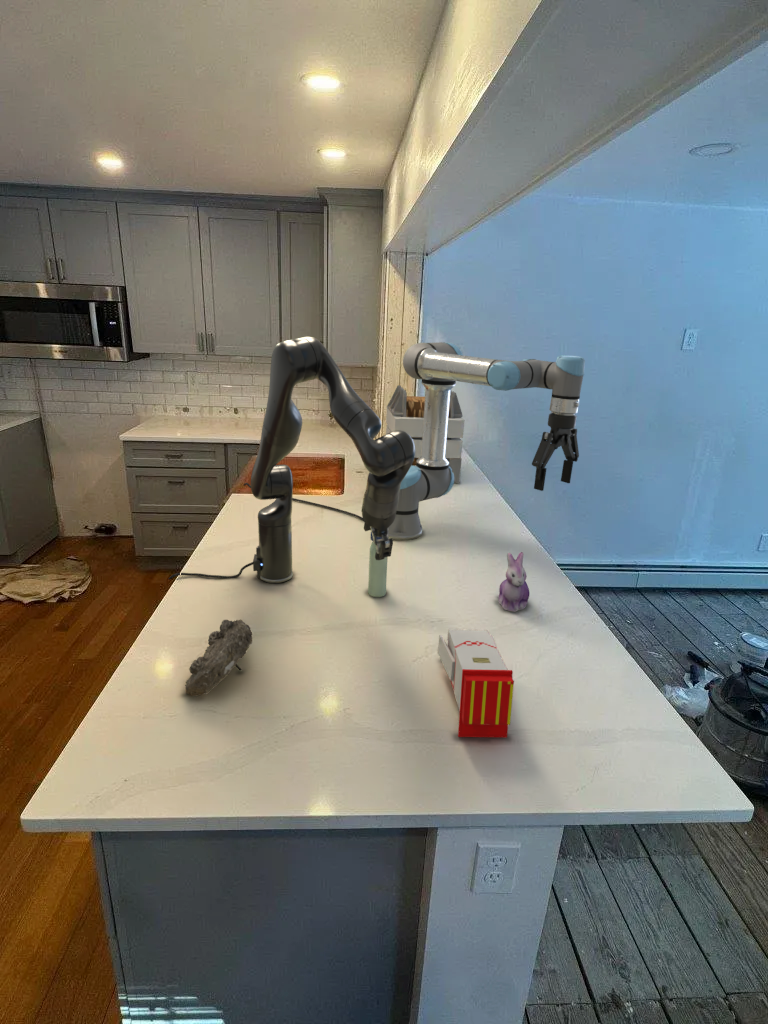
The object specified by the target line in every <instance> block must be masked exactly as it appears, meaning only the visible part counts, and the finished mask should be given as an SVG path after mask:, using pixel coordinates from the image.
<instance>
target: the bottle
mask: <svg viewBox="0 0 768 1024" xmlns="http://www.w3.org/2000/svg"><path fill="white" fill-rule="evenodd" d="M379 548H380V545H379ZM375 554H376V545H375V544H374V543H373V541H372V542H371V544H370V546H369V560H368V582H367V584H368V585H367V586H368V588H367V593H368V595H369V596H371V597H374V598H381V597H384V596H386V593H387V573H388V557H385V558H384V559H382V560H376V559H375Z"/></svg>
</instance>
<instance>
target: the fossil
mask: <svg viewBox="0 0 768 1024" xmlns="http://www.w3.org/2000/svg"><path fill="white" fill-rule="evenodd" d="M207 641H208V643H207V645H208V646H207V648H206V649H205V652H204V654H203V655H202V656H198V657H197V658H196V659H195V660H193V661H192V662H191V664H190V666H189V668H188V670H189V672H190V674H191V675H190V676H189V678H188V679H186V681H185V685H184V686H185V694H187V695H191V696H192V697H197V696H201V695H207V694H209V693H210V692H211V691H212V690H213V689H214V688H215V687H217V686H218V685H219V684H220V682H222V681H223V680H224V679H225V678H226V677H227V676H229V674H230V673H231V672H232V669H234V668H236V669H237V670H238V671H240V672H241V671H242V668H241V667H240V666H239V665H238V663H239V662H240V660H241V659H243V658H244V656H245V655H247V651H248V649H249V648H250V646H251V645H252V644H253V632H252V630H251V627H250V625H249V624H247V623H245V621H244V620H243V619H236V620H235V619H234V620H229V619H223V620H222V621H221V624H220V625H219V630H215V631H211V633H210V634H209V635H208V640H207Z"/></svg>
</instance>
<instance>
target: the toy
mask: <svg viewBox="0 0 768 1024" xmlns="http://www.w3.org/2000/svg"><path fill="white" fill-rule="evenodd" d="M446 640H447V643H446V641H445V639H444V636H443V635H442V634H439V637H438V646H437V656H438V657H439V659H440V661H441V663H442V666H443V668H444V670H445V672H446V674H447V677H448V679H449V681H450V684H451V687H452V690H453V693H454V697H455V701H456V705H457V708H458V711H459V714H458V715H459V716H458V730H457V731H458V732H457V737H458V738H508V731H509V726H510V725H511V717H512V707H513V697H514V696H513V695H514V684H515V680H514V679H513V673H514V671H513V670H512V669H508V667H507V665H506V662H505V661H504V659H503V658H502V655H501V653H500V651H499V649H498V647H497V643H496V639H495V637H494V635H493V634H491V632H490V631H489V629H467V628H466V629H465V628H463V629H461V628H460V629H459V628H448V630H447V639H446Z"/></svg>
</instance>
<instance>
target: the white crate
mask: <svg viewBox="0 0 768 1024" xmlns="http://www.w3.org/2000/svg"><path fill="white" fill-rule="evenodd" d="M407 394H408V393H407V390H406V389H404V388H403V387H402V385H399V384H398V385H397V386H396V388H395V390H394V392H393V394H392V395H391V398H390V400H389V402H388V404H387V405H386V413H385V414H386V415H385V423H386V428H385V435H386V434H388V433H390V432H392V431H396V430H401V431H404V432H406V433H408V434H409V435H410V436H411V438H412V440H413V442H414V445H415V457H414V460H413V463H412V465H413V466H416V461H417V459H418V458H420V457H421V449H422V434H423V419H424V404H425V396H415V395H414V396H413V395H412V396H411V395H407ZM464 429H465V419H464V418H463V411H462V408H461V405H460V402H459V398H458V395H457V392H455V391H453V390H451V392H450V404H449V416H448V428H447V441H446V453H445V458H446V459H447V461H448V462H449V466H450V467H451V469H452V473H454V484H455V483H456V484H459V483H461V472H462V461H463V460H462V453H463V442H464V441H463V440H462V439H463V438H464V431H465V430H464Z"/></svg>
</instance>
